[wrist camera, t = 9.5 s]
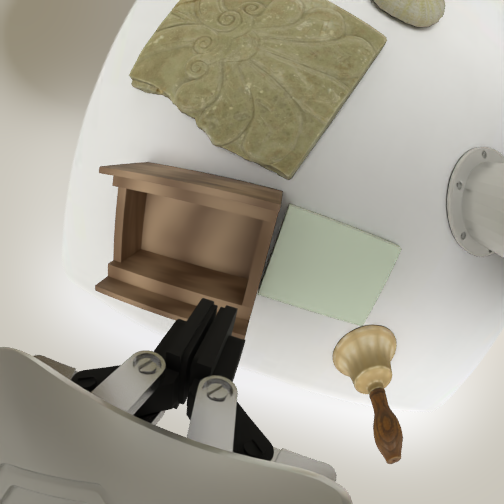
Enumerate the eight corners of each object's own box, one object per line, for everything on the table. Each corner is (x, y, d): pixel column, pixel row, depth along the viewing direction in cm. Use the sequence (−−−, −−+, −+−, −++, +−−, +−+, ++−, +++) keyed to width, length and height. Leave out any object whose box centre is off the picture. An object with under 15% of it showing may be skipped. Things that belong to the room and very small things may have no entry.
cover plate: (395, 243, 26) (401, 248, 24) (358, 317, 29) (362, 326, 27) (289, 202, 26) (289, 205, 24) (259, 286, 29) (257, 294, 27)
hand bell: (319, 363, 31) (327, 477, 16) (360, 313, 28) (402, 430, 13) (367, 382, 31) (389, 481, 16) (407, 338, 28) (455, 438, 13)
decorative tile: (219, -26, 17) (212, -42, 14) (382, 48, 19) (393, 35, 16) (128, 97, 24) (110, 91, 20) (287, 187, 25) (288, 191, 22)
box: (282, 190, 25) (280, 204, 17) (255, 293, 29) (243, 340, 21) (147, 162, 25) (99, 166, 18) (136, 259, 29) (95, 290, 21)
